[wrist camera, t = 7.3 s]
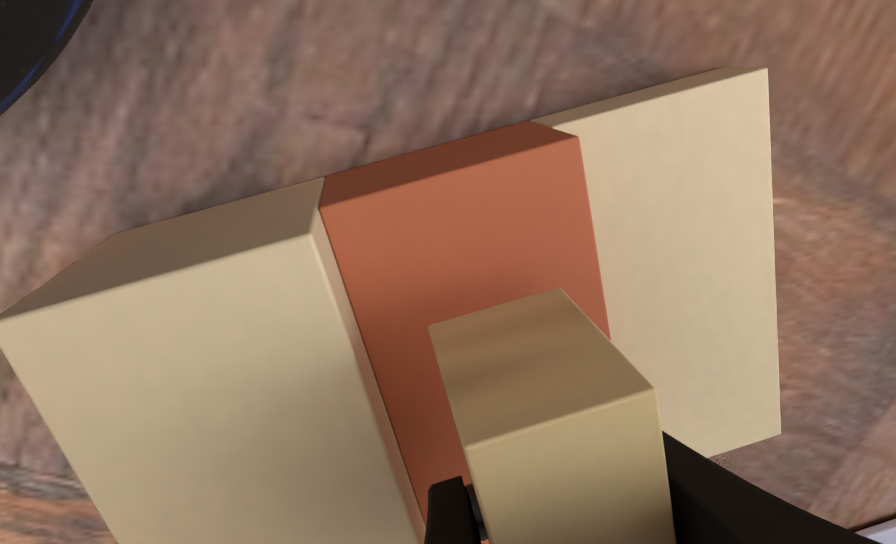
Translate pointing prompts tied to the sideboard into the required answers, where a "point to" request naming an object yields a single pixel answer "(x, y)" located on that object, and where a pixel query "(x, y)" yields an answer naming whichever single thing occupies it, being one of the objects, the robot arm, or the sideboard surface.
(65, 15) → the decorative sphere
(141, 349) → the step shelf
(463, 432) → the beige block with hole
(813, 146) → the sideboard surface
